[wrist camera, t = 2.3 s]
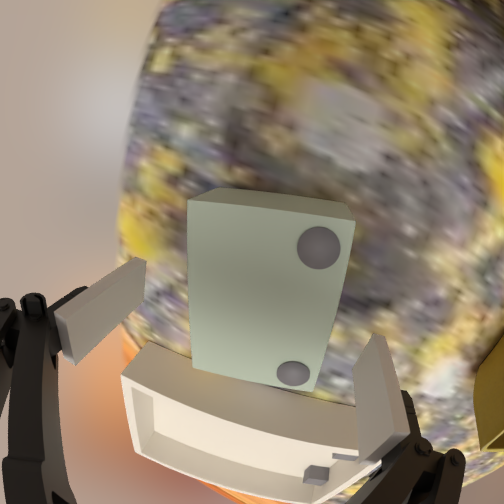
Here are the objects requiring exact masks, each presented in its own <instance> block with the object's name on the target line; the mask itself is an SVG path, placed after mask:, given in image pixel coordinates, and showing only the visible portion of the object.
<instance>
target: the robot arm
mask: <svg viewBox="0 0 504 504" xmlns="http://www.w3.org/2000/svg"><path fill="white" fill-rule="evenodd" d="M145 273H146V261H145V260H143V259H140V258H137V257H135V258H133V259H131V260H130V261H128V262H127V263H125V264H124V265H122V266H120V267H119V268H117V269H116V270H114V271H113V272H111V273H110V274H108V275H107V276H105V277H104V278H102V279H101V280H99V281H98V282H96V283H95V284H93V285H92V286H90V287H87V286H83V287H80V288H76V289H75V290H73V291H72V292H70V293H69V294H67V295H66V296H64V298H61V299H60V300H58V301H57V302H55V303H54V304H53V305H51V306H50V307H48V308H47V305H46V299H45V297H44V296H43V295H41V294H40V293H29V294H26V295H25V296H23V297H22V298H21V300H20V304H21V308H22V311H21V310H18V309H16V306H15V302H14V301H13V300H12V299H10V298H1V299H0V417H1V414H2V410H3V407H4V404H5V401H6V398H7V395H8V392H9V390H10V400H9V416H8V450H9V451H8V456H7V457H5V458H4V459H3V461H2V474H3V483H4V492H5V499H6V504H77V503H76V499H75V497H74V494H73V492H72V490H71V488H70V485H69V482H68V477H67V472H66V467H65V460H64V454H63V447H62V438H61V429H60V417H59V400H58V354H57V353H58V352H59V351H60V350H62V352H63V355H64V358H65V359H66V360H68V361H69V362H71V363H72V364H74V365H75V366H76V365H77V364H78V363H79V362H80V361H81V360H82V359H83V358H84V357H85V356H86V355H87V354H88V353H89V352H90V351H91V350H92V349H93V348H94V347H95V346H96V345H97V344H98V343H99V342H100V341H102V339H104V338H105V337H106V336H107V335H108V334H109V333H110V332H111V331H112V330H113V329H114V328H115V327H116V326H117V325H118V324H119V323H121V322H122V321H123V320H124V319H125V318H126V317H127V316H128V315H129V314H130V313H131V312H132V311H133V310H135V309H136V308H137V307H138V306H139V305H140V304H141V303H142V302H143V301H144V288H145ZM2 340H3V341H2ZM352 372H353V381H354V391H355V403H356V416H357V431H358V454H359V465H375V464H376V463H377V462H378V461H380V460H381V464H382V466H381V467H380V468H378V469H377V470H376V471H375V472H373V473H372V474H371V475H369V477H370V478H369V479H368V481H367V482H366V483H365V484H364V485H363V486H362V487H361V488H360V489H359V490H358V491H357V492H356V493H355V494H354V495H353V496H352V497H351V498H350V499H349V500H348V501H347V502H346V503H345V504H458V502H459V497H460V493H461V488H462V483H463V477H464V471H465V464H466V460H465V457H464V455H463V453H462V452H461V451H459V450H458V449H450V450H449V451H448V452H447V453H445V454H443V453H439V452H436V451H433V447H432V445H431V443H430V442H429V441H428V440H427V439H425V438H423V437H421V433H420V428H419V424H418V420H417V416H416V415H415V414H416V412H415V408H414V405H413V401H412V398H411V397H410V395H409V394H408V392H407V391H404V390H400V386H399V382H398V379H397V375H396V371H395V368H394V364H393V361H392V358H391V354H390V351H389V348H388V344H387V341H386V338H385V336H381V335H377V334H374V333H373V335H372V337H371V338H370V340H369V342H368V344H367V345H366V347H365V349H364V351H363V352H362V354H361V356H360V357H359V359H358V361H357V362H356V364H355V365H354V367H353V369H352ZM10 387H11V388H10Z"/></svg>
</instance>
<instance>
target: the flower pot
mask: <svg viewBox="0 0 504 504" xmlns="http://www.w3.org/2000/svg"><path fill="white" fill-rule="evenodd" d="M473 402H474V412H475V417H476V424H477V430H478V436H479V443H480V451H483V452H502V451H504V335H503V337H502V338H501V339H500V341H499V342H498V343H497V345H496V346H495V348H494V349H493V350H492V351H491V353H490V354H489V355H488V356H487V358H486V359H485V360H484V361H483V363H482V364H481V365H480V367H479V368H478V371H477V375H476V379H475V384H474V394H473Z"/></svg>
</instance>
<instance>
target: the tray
mask: <svg viewBox="0 0 504 504" xmlns="http://www.w3.org/2000/svg"><path fill="white" fill-rule="evenodd" d="M121 382H122V389H123V395H124V401H125V407H126V412H127V418H128V423H129V427H130V432H131V437H132V441H133V446H134V450H135V452H136V453H138V454H140V455H142V456H144V457H146V458H148V459H150V460H153V461H155V462H157V463H159V464H161V465H164V466H166V467H168V468H170V469H173V470H175V471H178V472H180V473H183V474H185V475H188V476H190V477H193V478H196V479H198V480H201V481H204V482H207V483H210V484H213V485H216V486H219V487H223V488H226V489H229V490H233V491H237V492H240V493H244V494H248V495H252V496H257V497H261V498H266V499H271V500H276V501H281V502H287V503H293V504H320V503H322V502H324V501H326V500H327V499H329V498H331V497H333V496H334V495H336V494H338V493H339V492H341V491H342V490H344V489H345V488H347V487H349V486H350V485H352V484H353V483H355V482H356V481H357V480H359V479H360V478H362V477H363V476H365V475H366V474H367V473H369V472H370V471H372V470H373V469H374V468H376V467H377V466H378V465H380V464H381V460H380V461H378V462H377V463H376V464H375V465H359V454H358V431H357V416H356V407H353V406H348V405H343V404H338V403H333V402H328V401H324V400H320V399H315V398H311V397H307V396H303V395H299V394H295V393H292V392H288V391H284V390H281V389H277V388H274V387H270V386H267V385H264V384H260V383H255V382H250V381H246V380H241V379H236V378H232V377H228V376H223V375H219V374H215V373H211V372H208V371H204V370H200V369H196V368H193V367H192V359H190V358H188V357H185V356H183V355H180V354H178V353H175V352H173V351H171V350H168V349H166V348H164V347H162V346H159V345H157V344H155V343H153V342H150V341H148V342H147V343H146V344H145V346H144V347H143V348H142V349H141V350H140V351H139V353H138V354H137V355H136V356H135V357H134V359H133V360H132V361H131V362H130V363H129V365H128V366H127V367H126V368H125V369H124V371H123V372H122V373H121Z"/></svg>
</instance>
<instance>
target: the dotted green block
mask: <svg viewBox="0 0 504 504" xmlns="http://www.w3.org/2000/svg"><path fill="white" fill-rule="evenodd" d="M355 225H356V220H355V218H354V217H353V215H352V213H351V211H350V210H349V208H348V206H347V204H346V203H343V202H337V201H331V200H324V199H317V198H310V197H303V196H295V195H288V194H279V193H271V192H262V191H253V190H244V189H233V188H223V187H218V188H216V189H213V190H211V191H208V192H206V193H203V194H200V195H198V196H196V197H193V198H191V199H188V200H187V271H188V302H189V323H190V340H191V354H192V367H193V368H196V369H200V370H204V371H208V372H211V373H215V374H219V375H223V376H228V377H232V378H236V379H241V380H246V381H250V382H255V383H260V384H265V385H271V386H276V387H282V388H288V389H295V390H301V391H309V392H313V389H314V386H315V383H316V380H317V377H318V374H319V371H320V368H321V365H322V362H323V358H324V355H325V352H326V348H327V345H328V341H329V338H330V334H331V331H332V327H333V324H334V320H335V316H336V312H337V308H338V304H339V300H340V296H341V292H342V288H343V284H344V279H345V275H346V270H347V266H348V261H349V256H350V251H351V246H352V241H353V236H354V230H355Z"/></svg>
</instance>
